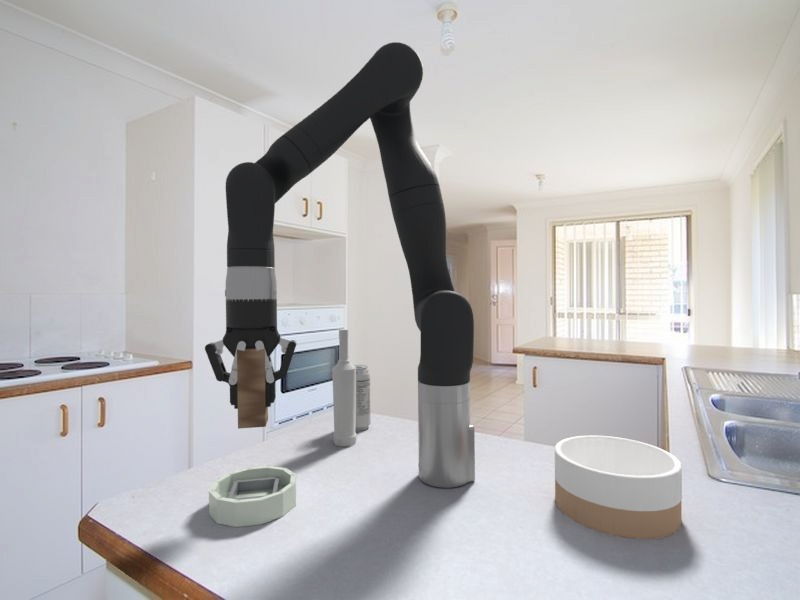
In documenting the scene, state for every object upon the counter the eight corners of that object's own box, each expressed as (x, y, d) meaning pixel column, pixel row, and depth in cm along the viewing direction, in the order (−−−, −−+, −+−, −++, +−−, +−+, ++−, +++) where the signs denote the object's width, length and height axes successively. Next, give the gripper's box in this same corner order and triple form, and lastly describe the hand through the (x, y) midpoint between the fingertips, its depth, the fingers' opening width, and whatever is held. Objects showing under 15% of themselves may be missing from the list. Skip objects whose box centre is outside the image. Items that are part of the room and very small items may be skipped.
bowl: (697, 509, 65) (697, 454, 65) (656, 556, 54) (656, 490, 54) (585, 474, 78) (585, 428, 78) (533, 506, 67) (533, 452, 67)
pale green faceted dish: (297, 483, 75) (297, 463, 75) (294, 520, 63) (294, 496, 63) (220, 490, 73) (219, 470, 73) (201, 531, 61) (201, 506, 61)
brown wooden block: (268, 419, 70) (267, 345, 70) (265, 426, 66) (264, 348, 66) (242, 420, 69) (241, 346, 69) (237, 428, 66) (236, 349, 65)
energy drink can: (359, 422, 111) (358, 363, 110) (375, 427, 106) (375, 366, 106) (340, 427, 106) (340, 366, 106) (357, 433, 102) (356, 369, 102)
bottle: (352, 447, 93) (351, 330, 92) (329, 446, 94) (328, 330, 93) (359, 439, 98) (358, 328, 97) (337, 438, 99) (336, 328, 98)
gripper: (299, 296, 73) (300, 398, 73) (208, 297, 70) (210, 403, 70) (297, 296, 65) (299, 410, 66) (196, 297, 62) (198, 416, 63)
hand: (253, 406), depth 68 cm, fingers closed on brown wooden block, 4 cm apart
